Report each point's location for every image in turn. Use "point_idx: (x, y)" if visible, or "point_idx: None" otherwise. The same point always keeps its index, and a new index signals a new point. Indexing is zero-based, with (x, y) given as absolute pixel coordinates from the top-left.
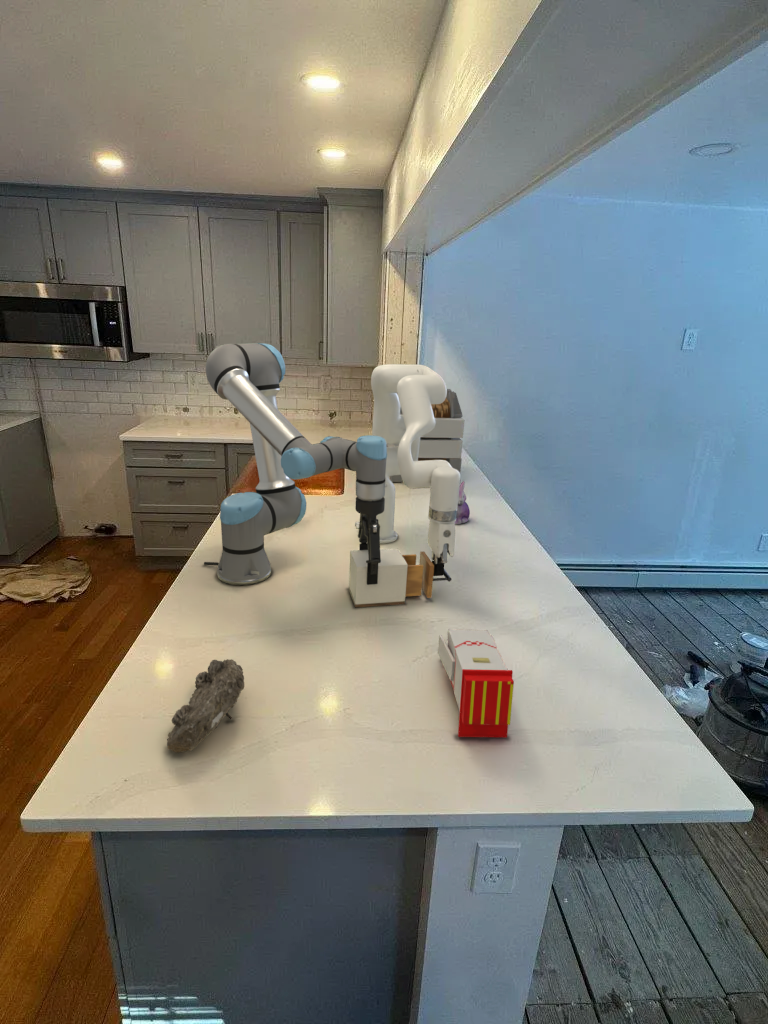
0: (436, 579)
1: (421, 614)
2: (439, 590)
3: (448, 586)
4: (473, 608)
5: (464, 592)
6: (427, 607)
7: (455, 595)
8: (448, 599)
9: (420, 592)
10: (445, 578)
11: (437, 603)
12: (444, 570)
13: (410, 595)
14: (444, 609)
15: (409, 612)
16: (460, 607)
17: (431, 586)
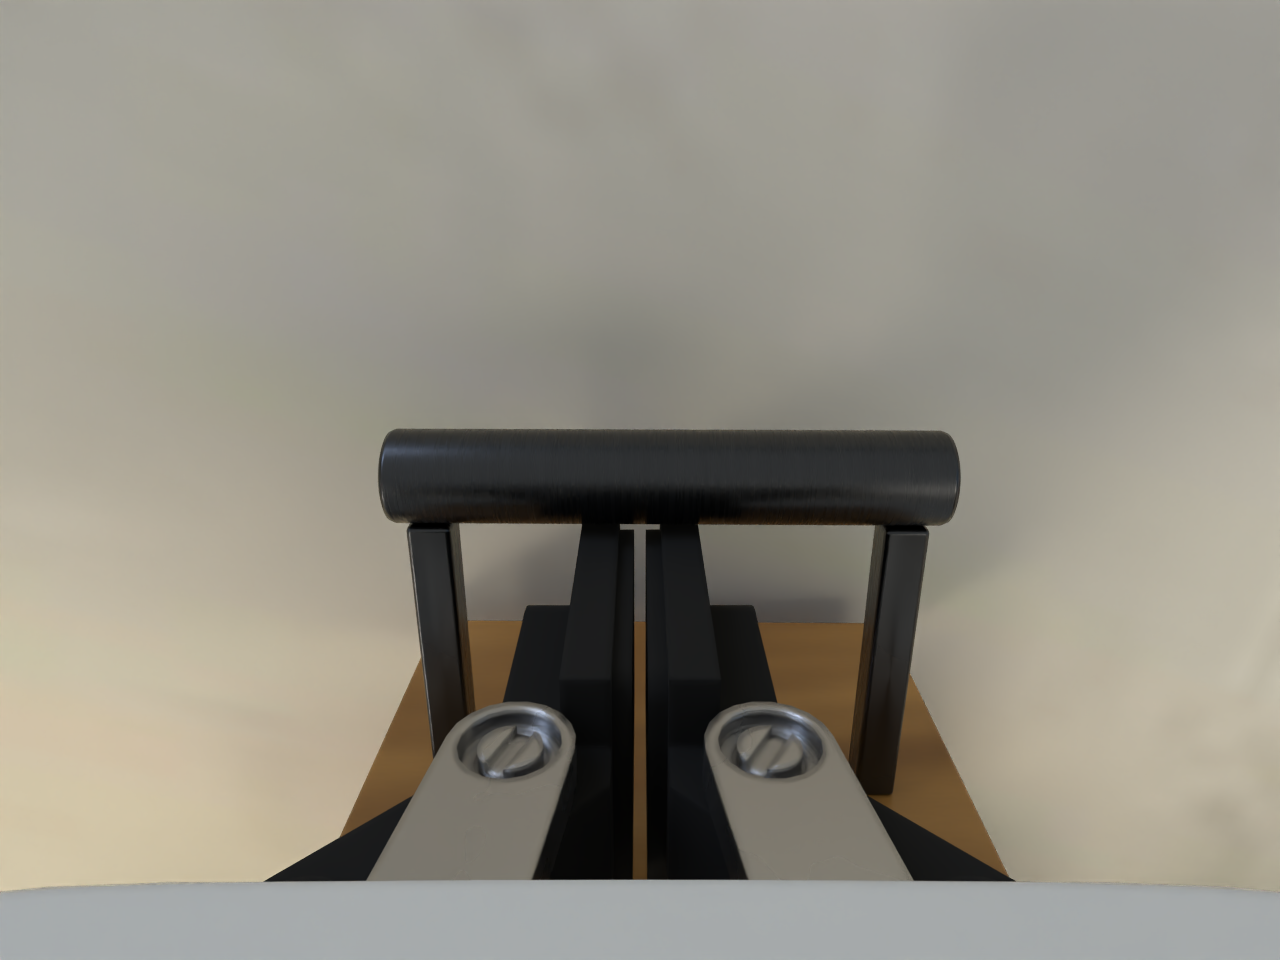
0: (900, 714)
1: (1128, 770)
2: (613, 411)
3: (503, 237)
4: (1259, 83)
5: (735, 34)
6: (1006, 676)
7: (800, 227)
8: (889, 372)
9: None
10: (920, 561)
11: (951, 543)
12: (610, 497)
13: None
14: (1121, 507)
15: (1044, 860)
16: (1154, 279)
17: (938, 745)
